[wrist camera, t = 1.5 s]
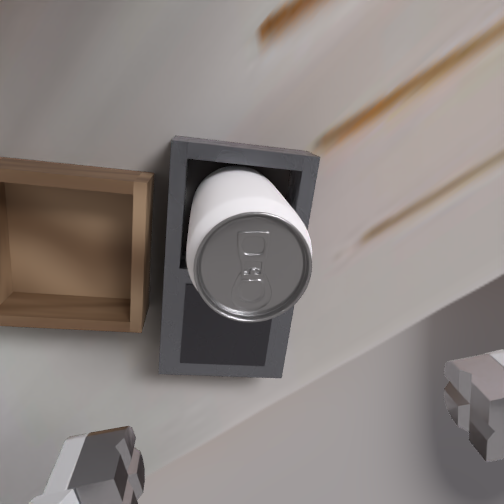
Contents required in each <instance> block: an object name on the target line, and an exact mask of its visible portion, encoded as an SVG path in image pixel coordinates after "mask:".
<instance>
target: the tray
mask: <svg viewBox="0 0 504 504" xmlns="http://www.w3.org/2000/svg"><path fill="white" fill-rule="evenodd" d="M188 159H196V160H205V161H214V162H224V163H233V164H242V165H251V166H260V167H269V168H278V169H287V170H291V171H290V178H289V184H288V191H287V198H286V201H287V202H288V203H289V204H290V206H291V207H292V208H293V209H294V211H295V212H296V213H297V214H298V216H299V217H300V219H301V220H302V222H303V223H304V225H305V227H306V229H308V224H309V218H310V212H311V207H312V201H313V195H314V189H315V184H316V178H317V172H318V167H319V161H320V157H319V156H317V155H314V154H312V153H310V152H308V151H302V150H293V149H285V148H276V147H268V146H259V145H251V144H242V143H234V142H225V141H217V140H208V139H200V138H191V137H183V136H175V137H174V138H173V139H172V140H171V156H170V174H169V193H168V211H167V229H166V247H165V265H164V284H163V302H162V320H161V338H160V356H159V374H175V375H204V376H233V377H262V378H282V372H283V367H284V361H285V355H286V350H287V344H288V338H289V332H290V327H291V321H292V315H293V310H294V305H293V306H292V307H291V308H290V309H289V310H287V311H286V312H284V313H283V314H281V315H279V316H277V317H275V318H272V319H269V320H266V321H261V322H239V321H235V320H231V319H228V318H226V317H224V316H222V315H220V314H218V313H217V312H215V311H214V310H213V309H211V308H210V307H209V306H208V305H207V304H206V302H205V301H204V300H203V299H202V297H201V295H200V294H199V292H198V291H197V289H196V288H195V286H194V285H193V283H192V281H191V278H190V276H189V272H188V268H187V262H186V251H182V244H183V230H184V216H185V201H186V187H187V172H188Z"/></svg>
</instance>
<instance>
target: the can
mask: <svg viewBox="0 0 504 504" xmlns="http://www.w3.org/2000/svg"><path fill="white" fill-rule="evenodd" d="M186 262H187V268H188V272H189V276H190V278H191V281H192V283H193V285H194V286H195V288H196V289H197V291H198V292H199V294H200V295H201V297H202V299H203V300H204V301H205V302H206V304H207V305H208V306H209V307H210V308H211V309H213V310H214V311H215V312H217V313H218V314H220V315H222V316H224V317H226V318H228V319H231V320H235V321H239V322H261V321H266V320H269V319H272V318H275V317H277V316H279V315H281V314H283V313H284V312H286V311H287V310H289V309H290V308H291V307H292V306H293V305H295V304H296V303H297V301H298V300H299V299H300V298H301V296H302V295H303V293H304V292H305V290H306V288H307V286H308V283H309V281H310V277H311V272H312V246H311V240H310V237H309V234H308V231H307V229H306V227H305V225H304V223H303V222H302V220H301V219H300V217H299V216H298V214H297V213H296V212H295V211H294V209H293V208H292V207H291V206H290V204H289V203H288V202H287V201H286V200H285V198H284V197H283V196H282V195H281V193H280V192H279V191H278V190H277V189H276V188H275V186H274V185H273V184H272V183H271V182H270V181H269V180H268V179H267V178H266V177H265V176H264V175H263V174H261V173H260V172H258V171H256V170H254V169H252V168H249V167H245V166H227V167H223V168H220V169H218V170H216V171H214V172H212V173H211V174H209V175H208V176H207V177H206V178H205V179H204V180H203V181H202V182H201V183H200V185H199V186H198V188H197V190H196V192H195V194H194V197H193V201H192V207H191V214H190V221H189V229H188V238H187V248H186Z"/></svg>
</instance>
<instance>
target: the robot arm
mask: <svg viewBox="0 0 504 504" xmlns="http://www.w3.org/2000/svg"><path fill="white" fill-rule="evenodd" d="M444 375H445V376H446V377H447V379H448V380H449V383H448V384H447V386H446V387H445V388H444V400H445V404H446V407H447V410H448V412H449V414H450V416H451V418H452V419H453V421H454V422H455V423H456V425H457V426H458V427H460V428H462V429H464V430H466V431H468V432H469V441H470V443H471V444H472V445H473V446H474V448H475V449H476V450H477V451H478V452H479V454H480V455H481V456H482V457H483V459H484V460H485V461H486V462H490V461H495V460H501V459H504V349H502V350H497V351H493V352H488V353H485V354H481V355H476V356H472V357H467V358H462V359H457V360H453V361H448V362H446V365H445V369H444ZM135 440H136V437H135V434H134V431H133V429H132V427H130V426H125V427H120V428H114V429H108V430H103V431H97V432H91V433H89V434H82V435H77V436H71V437H69V438H68V439H67V440H66V441H65V442H64V444H63V447H62V449H61V451H60V454H59V456H58V458H57V461H56V463H55V466H54V468H53V470H52V473H51V475H50V477H49V480H48V482H47V484H46V487H45V489H44V492H43V494H42V495H40V496H36V497H35V498H33V499H32V500H31V501H30V502H29V503H28V504H138V502H137V500H138V498H139V497H140V496H141V495H142V493H143V490H144V482H145V469H144V463H143V458H142V455H141V452H140V451H139V450H138V449H136V448H135V447H134V445H135Z"/></svg>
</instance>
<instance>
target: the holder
mask: <svg viewBox="0 0 504 504" xmlns="http://www.w3.org/2000/svg"><path fill="white" fill-rule="evenodd" d="M153 193H154V173H151V172H141V171H132V170H122V169H112V168H103V167H93V166H83V165H74V164H64V163H54V162H45V161H35V160H26V159H16V158H6V157H0V326H12V327H33V328H54V329H74V330H95V331H116V332H136V333H142V329H143V325H144V322H145V318H146V315H147V311H148V307H149V287H150V263H151V240H152V216H153Z"/></svg>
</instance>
